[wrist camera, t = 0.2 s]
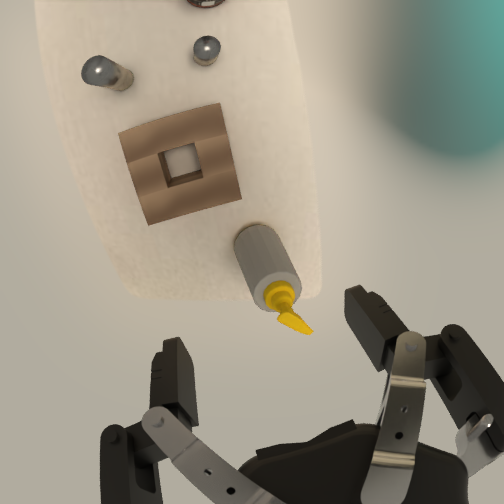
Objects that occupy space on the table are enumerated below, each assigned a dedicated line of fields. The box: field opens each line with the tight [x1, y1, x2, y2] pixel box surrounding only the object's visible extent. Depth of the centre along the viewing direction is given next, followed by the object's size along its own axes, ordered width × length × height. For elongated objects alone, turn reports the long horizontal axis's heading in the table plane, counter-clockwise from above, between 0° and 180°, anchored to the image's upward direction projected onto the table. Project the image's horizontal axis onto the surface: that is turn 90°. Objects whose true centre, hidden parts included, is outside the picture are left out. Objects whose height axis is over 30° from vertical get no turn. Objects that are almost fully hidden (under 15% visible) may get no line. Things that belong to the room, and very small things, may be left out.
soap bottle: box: [234, 225, 313, 335], centre depth 36 cm, size 7×7×18 cm
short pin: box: [194, 36, 221, 66], centre depth 27 cm, size 3×3×5 cm
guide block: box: [118, 103, 242, 226], centre depth 33 cm, size 12×12×5 cm
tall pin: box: [81, 55, 134, 91], centre depth 24 cm, size 3×3×11 cm
